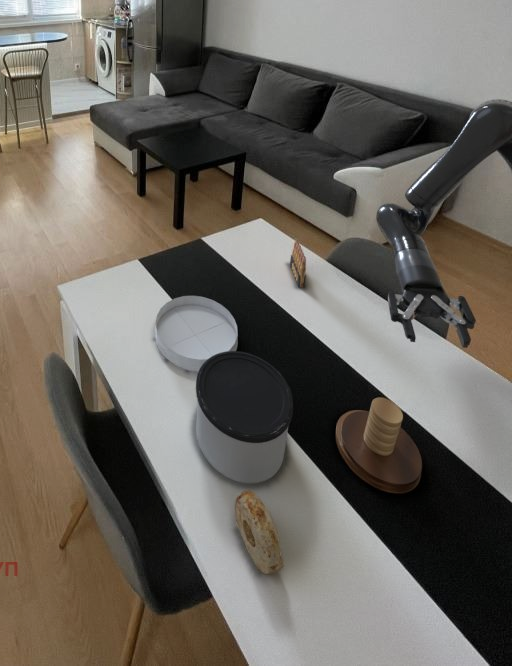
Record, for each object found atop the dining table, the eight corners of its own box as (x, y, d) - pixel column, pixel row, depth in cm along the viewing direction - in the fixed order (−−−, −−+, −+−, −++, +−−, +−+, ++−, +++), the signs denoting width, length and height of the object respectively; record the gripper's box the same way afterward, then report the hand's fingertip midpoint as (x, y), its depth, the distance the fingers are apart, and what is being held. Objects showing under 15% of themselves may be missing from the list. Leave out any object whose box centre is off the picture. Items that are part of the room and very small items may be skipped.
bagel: (228, 518, 79) (231, 484, 75) (245, 509, 80) (249, 476, 76) (264, 590, 70) (269, 556, 66) (283, 580, 71) (289, 546, 67)
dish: (183, 388, 103) (183, 374, 101) (140, 324, 122) (140, 311, 120) (255, 353, 111) (256, 339, 109) (205, 298, 130) (205, 285, 128)
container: (191, 394, 102) (192, 348, 96) (273, 399, 100) (279, 352, 94) (198, 484, 84) (200, 434, 79) (297, 492, 82) (306, 441, 77)
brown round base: (418, 440, 90) (422, 429, 88) (421, 514, 78) (425, 502, 77) (338, 405, 97) (341, 395, 96) (330, 468, 86) (332, 456, 84)
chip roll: (393, 437, 87) (403, 405, 84) (393, 461, 83) (403, 428, 80) (364, 424, 90) (372, 392, 86) (362, 446, 86) (370, 414, 82)
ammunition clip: (289, 266, 141) (293, 236, 137) (295, 267, 141) (299, 236, 137) (297, 289, 132) (302, 258, 127) (304, 290, 131) (308, 258, 127)
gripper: (381, 261, 97) (398, 328, 85) (458, 265, 92) (488, 336, 80) (379, 282, 101) (395, 348, 89) (453, 286, 96) (480, 358, 83)
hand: (439, 342), depth 84 cm, fingers open, 8 cm apart
